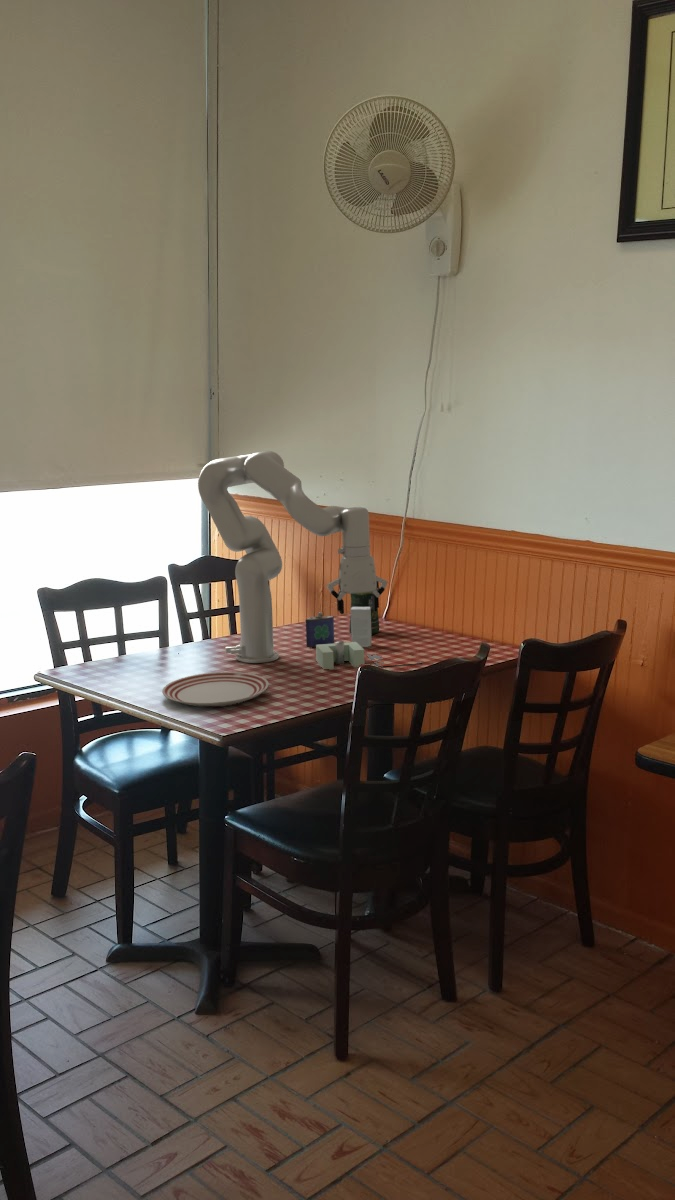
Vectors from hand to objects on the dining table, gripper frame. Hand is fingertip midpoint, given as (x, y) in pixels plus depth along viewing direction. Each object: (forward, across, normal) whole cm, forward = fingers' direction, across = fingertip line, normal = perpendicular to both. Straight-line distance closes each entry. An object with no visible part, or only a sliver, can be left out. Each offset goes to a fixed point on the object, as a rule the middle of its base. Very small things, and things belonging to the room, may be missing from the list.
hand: (358, 611), depth 302 cm
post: (+16, -5, +4) cm, 17 cm away
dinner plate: (+16, -43, -19) cm, 50 cm away
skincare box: (+16, +6, +23) cm, 29 cm away
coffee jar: (+16, +11, +40) cm, 44 cm away
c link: (+16, -5, +4) cm, 17 cm away
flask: (+16, -6, +27) cm, 32 cm away
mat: (+16, +11, +4) cm, 20 cm away
